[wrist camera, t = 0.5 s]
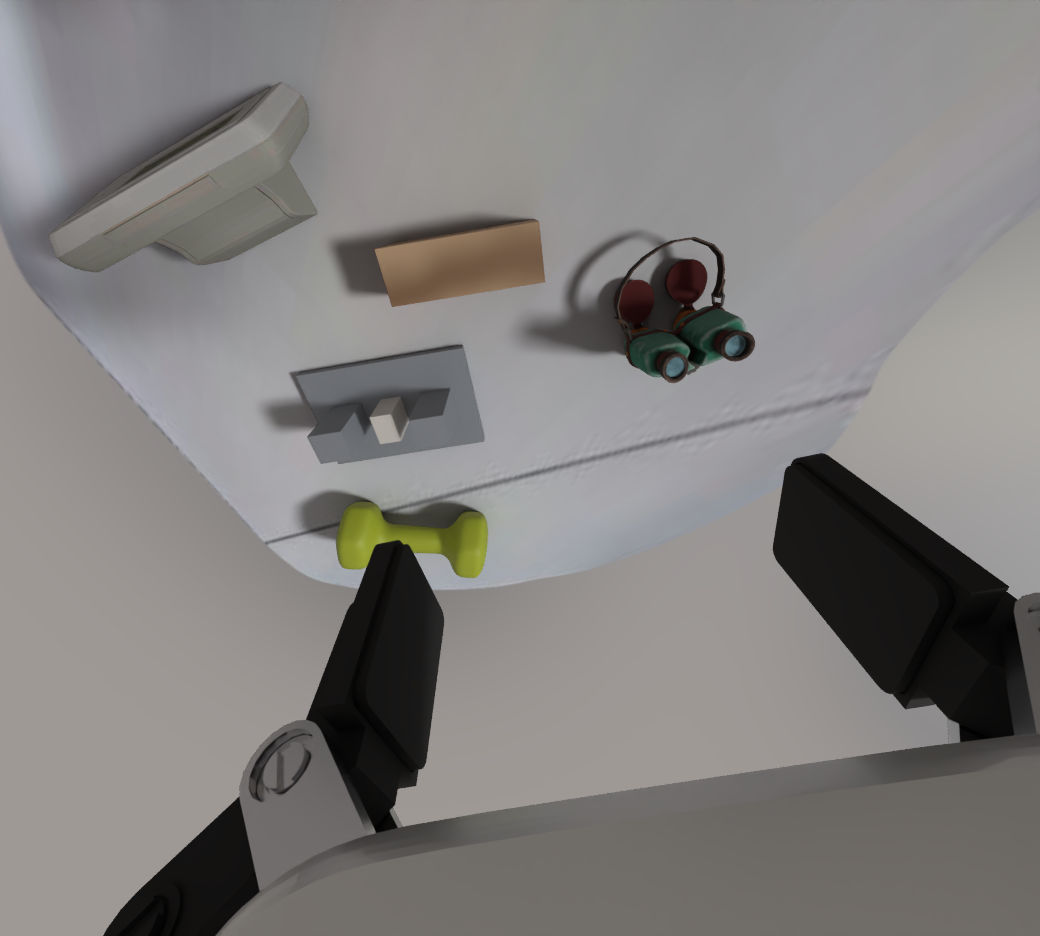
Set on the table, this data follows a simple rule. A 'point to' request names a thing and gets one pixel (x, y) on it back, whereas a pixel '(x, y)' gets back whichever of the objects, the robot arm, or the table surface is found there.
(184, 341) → the table surface
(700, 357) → the binoculars
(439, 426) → the display stand
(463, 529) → the dumbbell
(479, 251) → the tan bar
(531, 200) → the table surface
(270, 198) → the digital clock
